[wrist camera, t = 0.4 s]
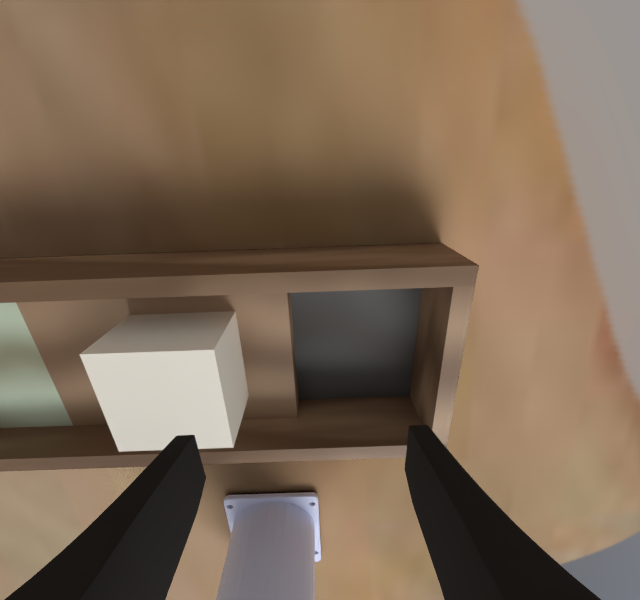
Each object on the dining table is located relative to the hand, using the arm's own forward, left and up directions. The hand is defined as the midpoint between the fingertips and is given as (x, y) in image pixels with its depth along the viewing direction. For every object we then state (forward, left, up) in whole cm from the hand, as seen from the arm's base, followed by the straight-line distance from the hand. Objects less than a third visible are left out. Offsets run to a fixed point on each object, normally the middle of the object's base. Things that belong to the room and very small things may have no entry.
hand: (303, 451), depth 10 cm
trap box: (-1, +8, -10) cm, 13 cm away
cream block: (-1, +7, -8) cm, 11 cm away
